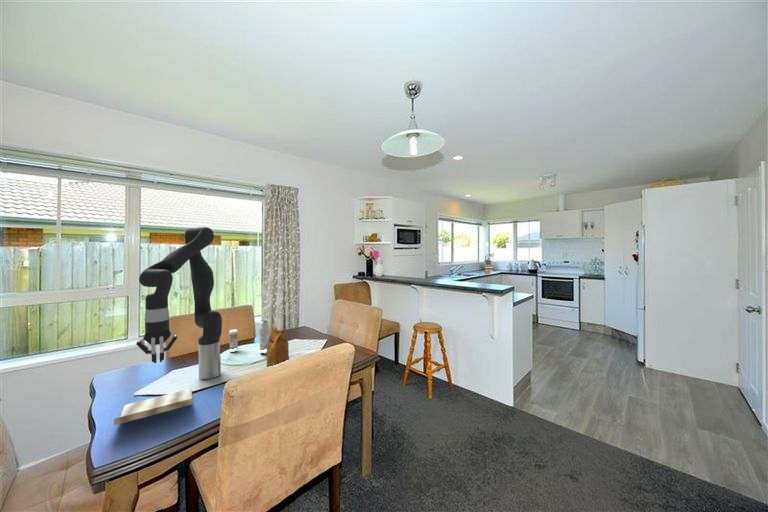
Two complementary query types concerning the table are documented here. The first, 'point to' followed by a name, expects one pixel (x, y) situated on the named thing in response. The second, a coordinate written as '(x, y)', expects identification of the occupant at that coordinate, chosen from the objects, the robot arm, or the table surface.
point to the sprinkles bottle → (233, 339)
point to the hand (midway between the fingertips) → (158, 361)
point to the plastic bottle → (264, 335)
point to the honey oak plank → (152, 411)
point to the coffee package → (277, 348)
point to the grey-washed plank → (156, 402)
